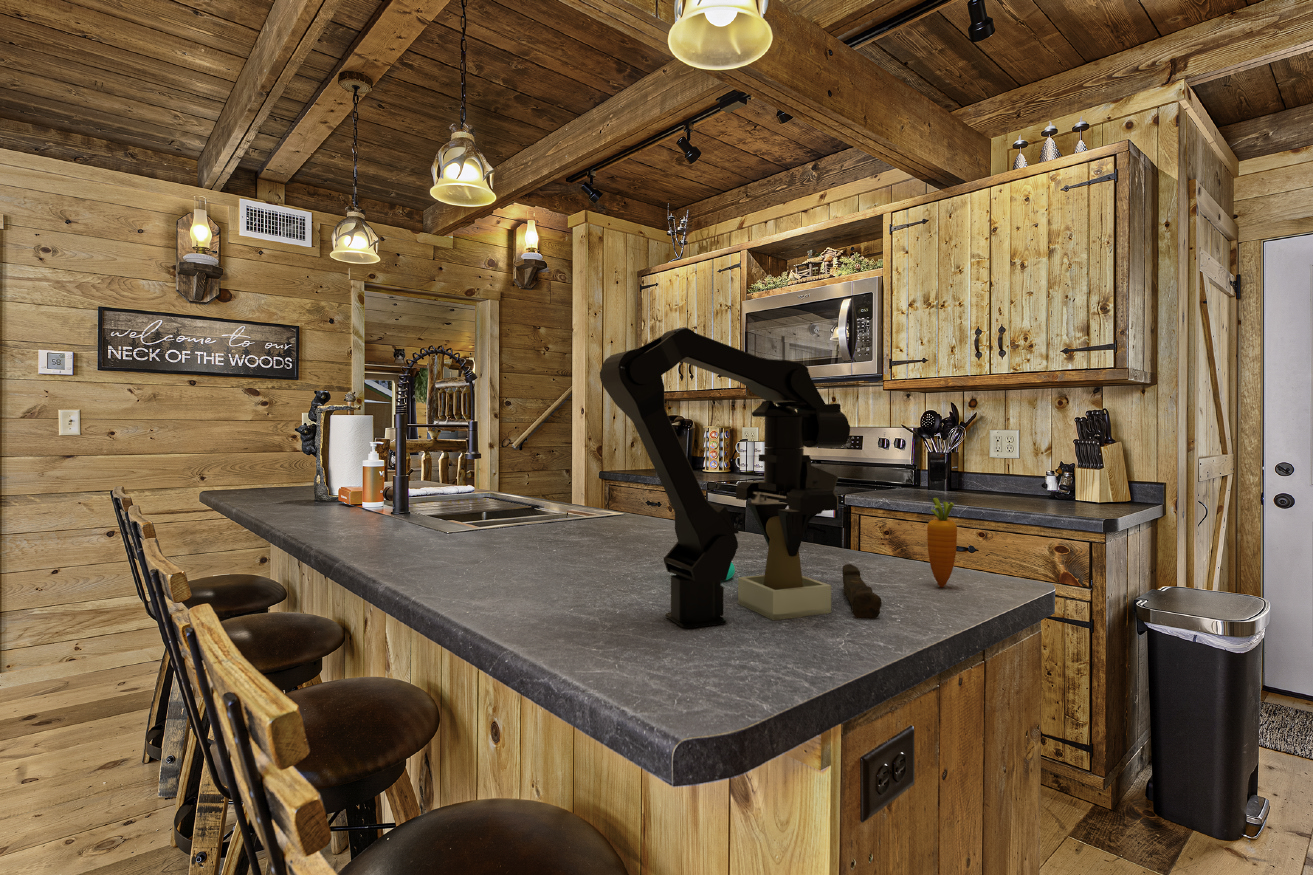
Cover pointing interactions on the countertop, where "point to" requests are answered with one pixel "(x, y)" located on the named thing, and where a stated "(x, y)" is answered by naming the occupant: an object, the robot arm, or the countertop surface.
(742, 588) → the tray
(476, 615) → the countertop surface
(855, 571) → the dark brown lumpy bar
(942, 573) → the carrot
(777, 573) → the cork
